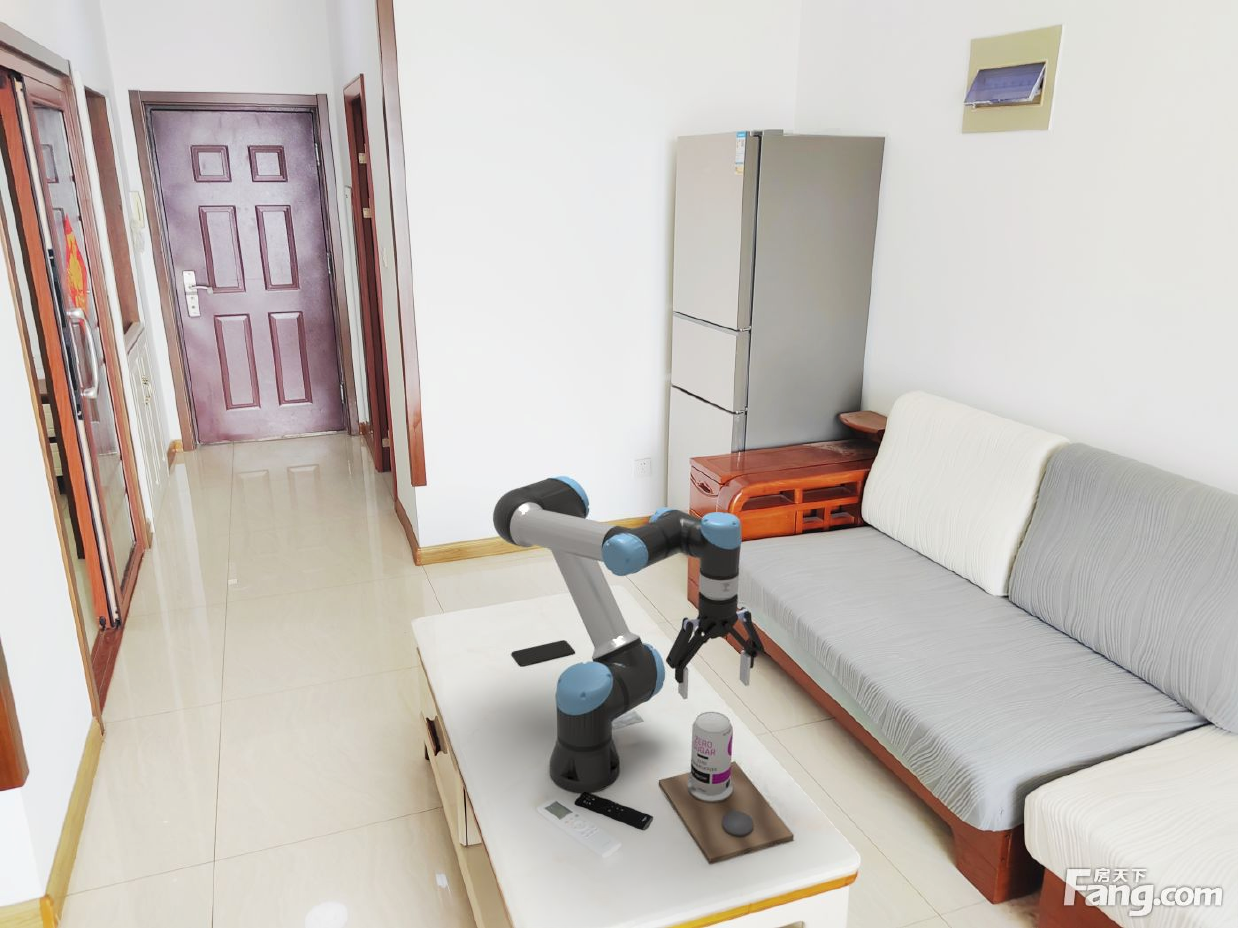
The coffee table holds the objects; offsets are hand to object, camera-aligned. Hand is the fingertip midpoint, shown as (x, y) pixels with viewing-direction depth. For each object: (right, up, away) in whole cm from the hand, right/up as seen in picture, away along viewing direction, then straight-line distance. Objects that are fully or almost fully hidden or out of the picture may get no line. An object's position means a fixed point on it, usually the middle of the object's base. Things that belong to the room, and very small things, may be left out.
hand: (713, 688), depth 176 cm
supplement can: (0, -22, +7) cm, 23 cm away
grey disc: (+4, -26, -4) cm, 26 cm away
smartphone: (-39, -6, +61) cm, 73 cm away
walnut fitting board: (+2, -25, +2) cm, 25 cm away
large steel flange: (0, -22, +7) cm, 24 cm away
